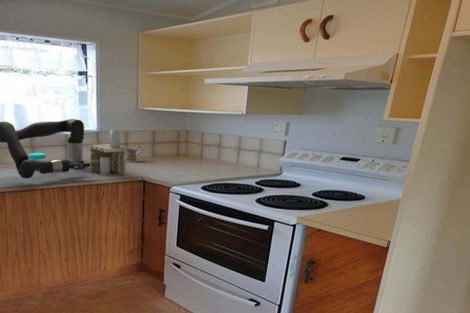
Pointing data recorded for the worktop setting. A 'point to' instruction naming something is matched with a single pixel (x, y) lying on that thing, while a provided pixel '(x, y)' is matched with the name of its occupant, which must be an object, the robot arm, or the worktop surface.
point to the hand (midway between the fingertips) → (86, 163)
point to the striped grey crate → (115, 156)
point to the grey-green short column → (104, 165)
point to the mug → (131, 155)
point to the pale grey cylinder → (115, 138)
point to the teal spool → (37, 156)
